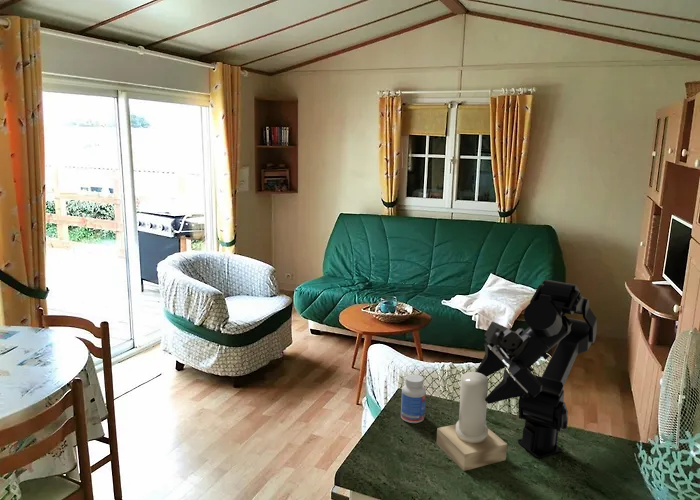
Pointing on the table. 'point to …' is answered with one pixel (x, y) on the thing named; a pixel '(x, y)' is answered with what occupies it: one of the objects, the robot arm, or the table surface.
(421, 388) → the pill bottle
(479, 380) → the white flanged cylinder
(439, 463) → the table surface
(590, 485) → the table surface
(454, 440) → the oak box
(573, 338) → the robot arm
